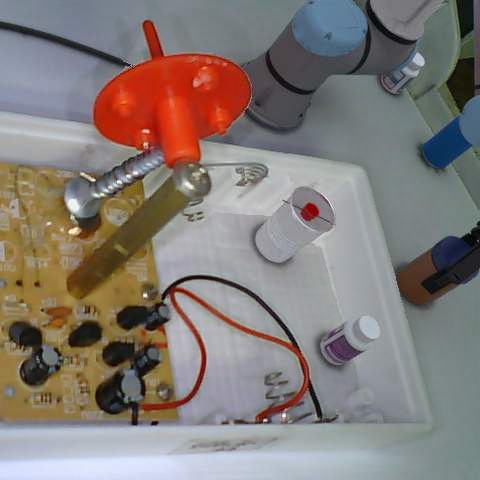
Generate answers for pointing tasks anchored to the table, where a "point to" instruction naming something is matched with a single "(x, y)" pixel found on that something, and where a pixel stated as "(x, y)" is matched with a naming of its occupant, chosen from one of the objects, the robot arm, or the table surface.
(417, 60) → the pill bottle
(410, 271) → the jar
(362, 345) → the pill bottle
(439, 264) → the lid
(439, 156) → the beverage can
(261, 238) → the striped cup with float
